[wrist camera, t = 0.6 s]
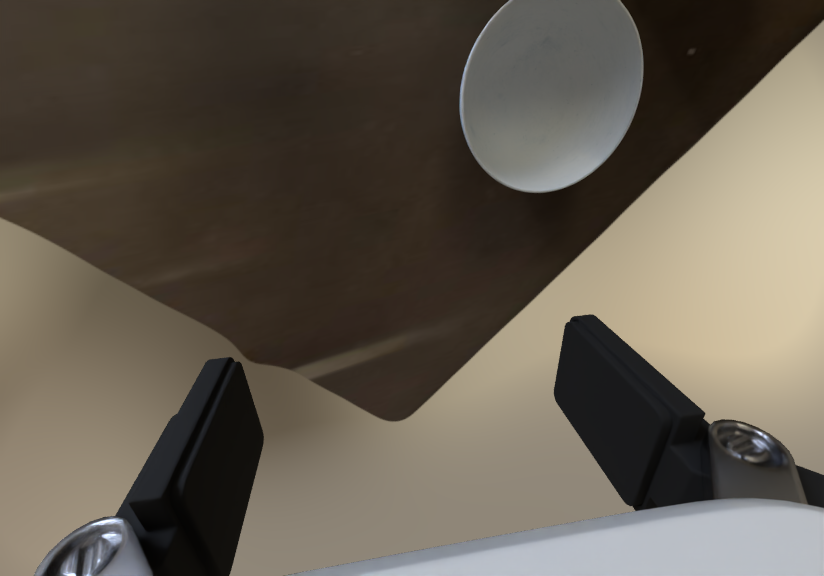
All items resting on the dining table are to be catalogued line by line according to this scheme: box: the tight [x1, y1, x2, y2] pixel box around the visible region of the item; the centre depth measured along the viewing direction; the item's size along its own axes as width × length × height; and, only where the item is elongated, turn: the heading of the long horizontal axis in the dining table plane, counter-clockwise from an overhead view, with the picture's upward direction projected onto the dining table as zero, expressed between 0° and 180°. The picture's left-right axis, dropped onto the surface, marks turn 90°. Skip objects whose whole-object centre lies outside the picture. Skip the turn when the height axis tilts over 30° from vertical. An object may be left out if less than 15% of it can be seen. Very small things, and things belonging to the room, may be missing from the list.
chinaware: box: [459, 0, 643, 193], centre depth 33 cm, size 15×15×8 cm
